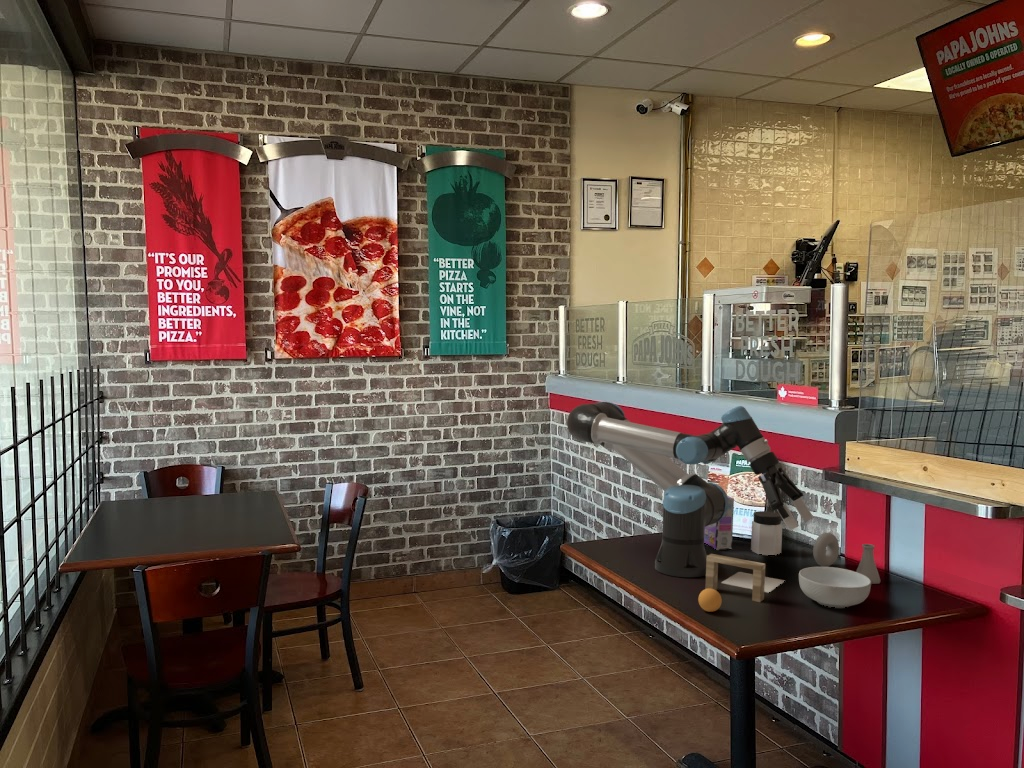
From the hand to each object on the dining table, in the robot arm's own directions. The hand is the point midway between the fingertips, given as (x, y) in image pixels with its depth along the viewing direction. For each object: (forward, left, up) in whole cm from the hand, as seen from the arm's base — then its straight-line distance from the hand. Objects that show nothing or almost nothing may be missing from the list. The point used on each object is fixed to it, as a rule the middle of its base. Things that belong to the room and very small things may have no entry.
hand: (802, 524), depth 228 cm
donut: (+2, +18, -16) cm, 24 cm away
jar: (-17, +22, -16) cm, 32 cm away
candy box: (-33, +20, -16) cm, 42 cm away
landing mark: (-9, -11, -15) cm, 21 cm away
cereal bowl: (+13, -15, -16) cm, 25 cm away
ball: (-9, -41, -13) cm, 44 cm away
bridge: (-9, -25, -15) cm, 31 cm away
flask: (+15, +11, -16) cm, 24 cm away
